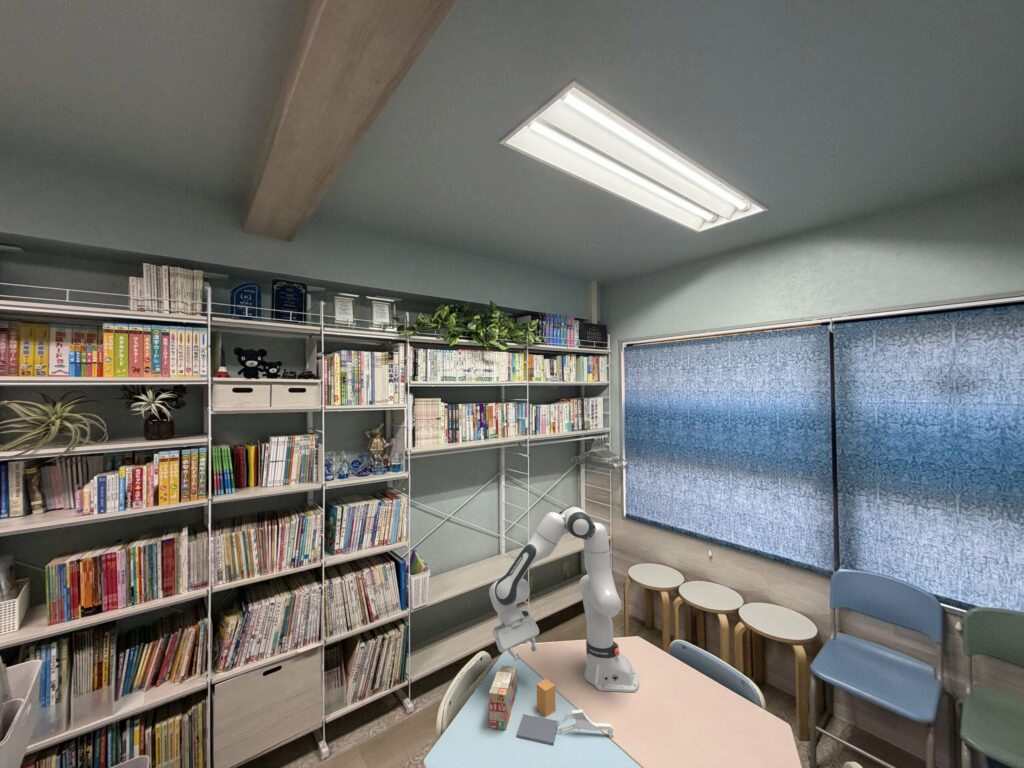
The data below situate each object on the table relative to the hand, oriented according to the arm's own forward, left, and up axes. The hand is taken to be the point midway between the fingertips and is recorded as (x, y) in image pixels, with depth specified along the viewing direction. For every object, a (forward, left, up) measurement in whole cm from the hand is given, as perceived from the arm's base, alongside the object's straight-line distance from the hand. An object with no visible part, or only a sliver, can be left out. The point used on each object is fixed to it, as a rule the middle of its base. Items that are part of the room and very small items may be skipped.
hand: (526, 655), depth 159 cm
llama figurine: (-24, +14, -15) cm, 32 cm away
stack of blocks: (+7, +10, -15) cm, 19 cm away
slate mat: (-8, +17, -15) cm, 24 cm away
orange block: (-9, +6, -15) cm, 19 cm away
